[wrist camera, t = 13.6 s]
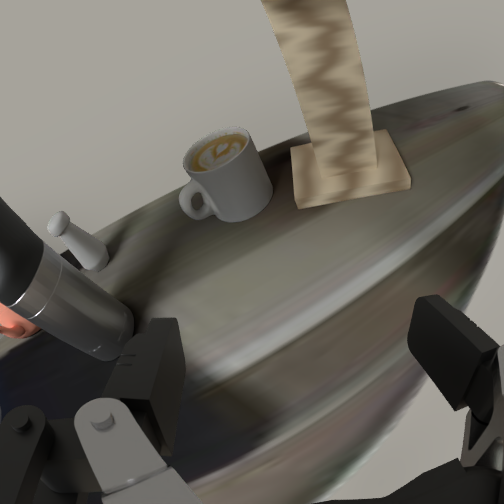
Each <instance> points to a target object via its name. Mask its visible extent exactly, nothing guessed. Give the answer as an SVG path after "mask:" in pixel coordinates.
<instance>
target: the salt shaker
mask: <svg viewBox="0 0 504 504" xmlns="http://www.w3.org/2000/svg"><path fill="white" fill-rule="evenodd" d="M48 231H49V232H50V233H51V234H52V235H53V236H54V237H58V236H59V237H60V239H61V240H62V241H63V242H64V243H65V245H66V246H67V247H68V249H69V250H70V251H71V252H72V253H73V255H74V256H75V257H76V258H77V259H78V261H79V262H80V263H81V264H82V266H83V267H84V268H85V269H87V270H94V271H97V272H99V271H100V270H102V269H103V268H105V267H106V265H107V263H108V261H109V259H110V258H109V255H108V252H107V249H106V246H105V244H104V243H103V242H102V241H100V240H99V239H97V238H95V237H94V236H92V235H90V234H89V233H87V232H86V231H84V230H82V229H81V228H79V227H78V226H76V225H74V224H73V223H71V222H70V218H69V216H68V215H67V214H66V213H65V212H64V211H60V212H57V213H56V214H55V215H54V216H53V217H52V218H51V220H50V221H49V223H48Z"/></svg>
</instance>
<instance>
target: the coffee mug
mask: <svg viewBox="0 0 504 504" xmlns="http://www.w3.org/2000/svg"><path fill="white" fill-rule="evenodd" d="M183 167H184V169H185V170H186V172H187V173H188V175H189V176H190V177H191V181H190V182H189V183H188V184H187V185H186V186H185V187H184V188H183V189H182V191H181V193H180V195H179V203H180V206H181V208H182V210H183V211H184V212H185V213H186V214H187V215H188V216H189V217H190V218H192V219H194V220H202V219H205V218H207V217H209V216H211V215H216V217H217V218H219V219H220V220H222V221H225V222H240V221H244V220H247V219H249V218H251V217H253V216H255V215H256V214H258V213H259V212H261V211H262V210H263V209H264V208H265V207H266V206H267V204H268V203H269V201H270V200H271V198H272V194H273V187H272V184H271V182H270V179H269V177H268V175H267V172H266V170H265V168H264V166H263V163H262V161H261V159H260V156H259V154H258V152H257V150H256V148H255V145H254V143H253V141H252V139H251V136H250V135H249V133H248V131H247V130H245V129H243V128H240V127H227V128H223V129H219V130H217V131H214V132H212V133H210V134H208V135H206V136H205V137H203V138H201V139H200V140H199V141H197V142H196V143H195V144H194V145H193V146H192V147H191V148H190V149H189V150H188V151H187V153H186V155H185V157H184V160H183ZM196 193H200V194H201V195H202V198H203V205H202V207H201V208H200V209H198V210H195V209H193V207H192V204H191V200H192V197H193V195H194V194H196Z"/></svg>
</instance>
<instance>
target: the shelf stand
mask: <svg viewBox="0 0 504 504" xmlns="http://www.w3.org/2000/svg"><path fill="white" fill-rule="evenodd" d="M261 2H262V4H263V6H264V9H265V11H266V13H267V16H268V18H269V21H270V23H271V26H272V28H273V31H274V33H275V36H276V38H277V41H278V43H279V46H280V49H281V52H282V54H283V57H284V60H285V62H286V65H287V68H288V71H289V74H290V77H291V79H292V82H293V85H294V88H295V91H296V94H297V97H298V100H299V103H300V106H301V110H302V113H303V116H304V119H305V122H306V126H307V129H308V132H309V136H310V139H311V142H312V143H309V144H304V145H300V146H296V147H291V160H292V171H293V184H294V197H295V202H296V205H297V207H298V209H303V208H308V207H314V206H319V205H324V204H329V203H334V202H340V201H345V200H351V199H356V198H362V197H367V196H373V195H378V194H384V193H390V192H396V191H402V190H408V189H411V177H410V175H409V173H408V171H407V169H406V167H405V165H404V163H403V161H402V159H401V157H400V154H399V153H398V151H397V149H396V147H395V145H394V143H393V141H392V139H391V137H390V135H389V133H388V132H387V130H386V129H384V130H378V131H373V125H372V118H371V112H370V105H369V99H368V93H367V88H366V82H365V77H364V72H363V67H362V62H361V57H360V53H359V49H358V44H357V40H356V36H355V33H354V28H353V24H352V21H351V17H350V13H349V10H348V6H347V3H346V0H261Z"/></svg>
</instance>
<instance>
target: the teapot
mask: <svg viewBox="0 0 504 504" xmlns="http://www.w3.org/2000/svg"><path fill="white" fill-rule="evenodd" d="M0 323H1V325H2V326H0V333H1V334H4V335H6V336H8V337H11V338H27V337H29V336H31V335H33V334H35V333H36V332H38V331H39V330H40V329H41V328H40V327H38V326H36V325H35V324H33V323H31V322H30V321H28V320H26V319H25V318H23V317H21V316H20V315H18V314H17V313H15V312H14V311H12V310H11V309H9V308H8V307H6V306H5V305H3V304H2V303H0Z"/></svg>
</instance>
